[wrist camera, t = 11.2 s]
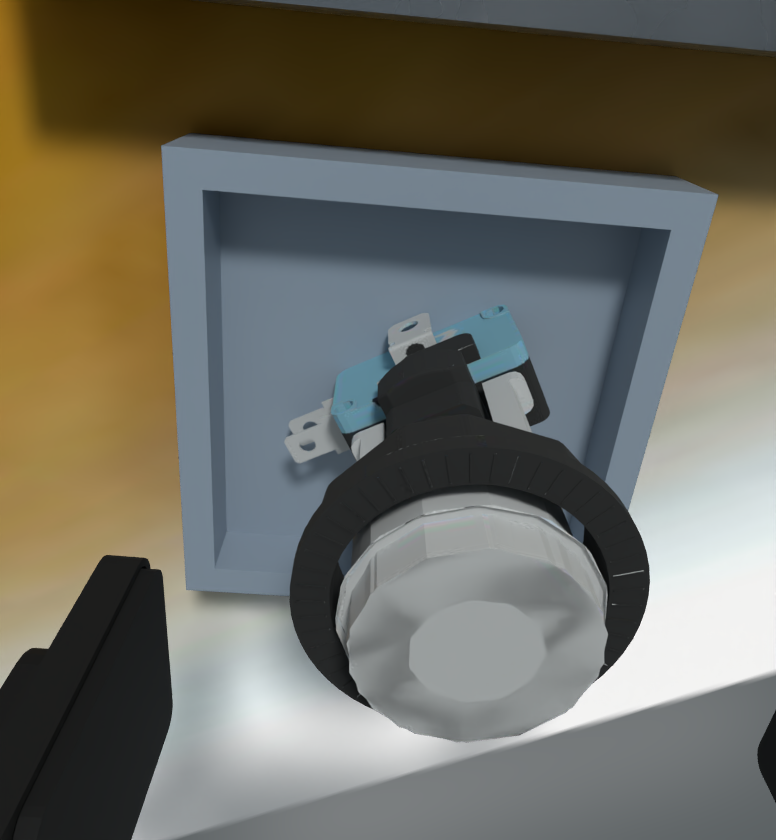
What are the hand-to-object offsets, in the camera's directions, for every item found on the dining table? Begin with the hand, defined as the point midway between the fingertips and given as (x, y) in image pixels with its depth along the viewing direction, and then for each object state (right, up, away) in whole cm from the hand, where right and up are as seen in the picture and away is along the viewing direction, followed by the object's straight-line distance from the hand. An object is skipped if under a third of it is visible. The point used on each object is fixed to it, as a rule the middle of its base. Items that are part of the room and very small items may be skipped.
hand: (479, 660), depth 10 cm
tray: (-1, +5, +9) cm, 10 cm away
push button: (-1, +5, +9) cm, 10 cm away
